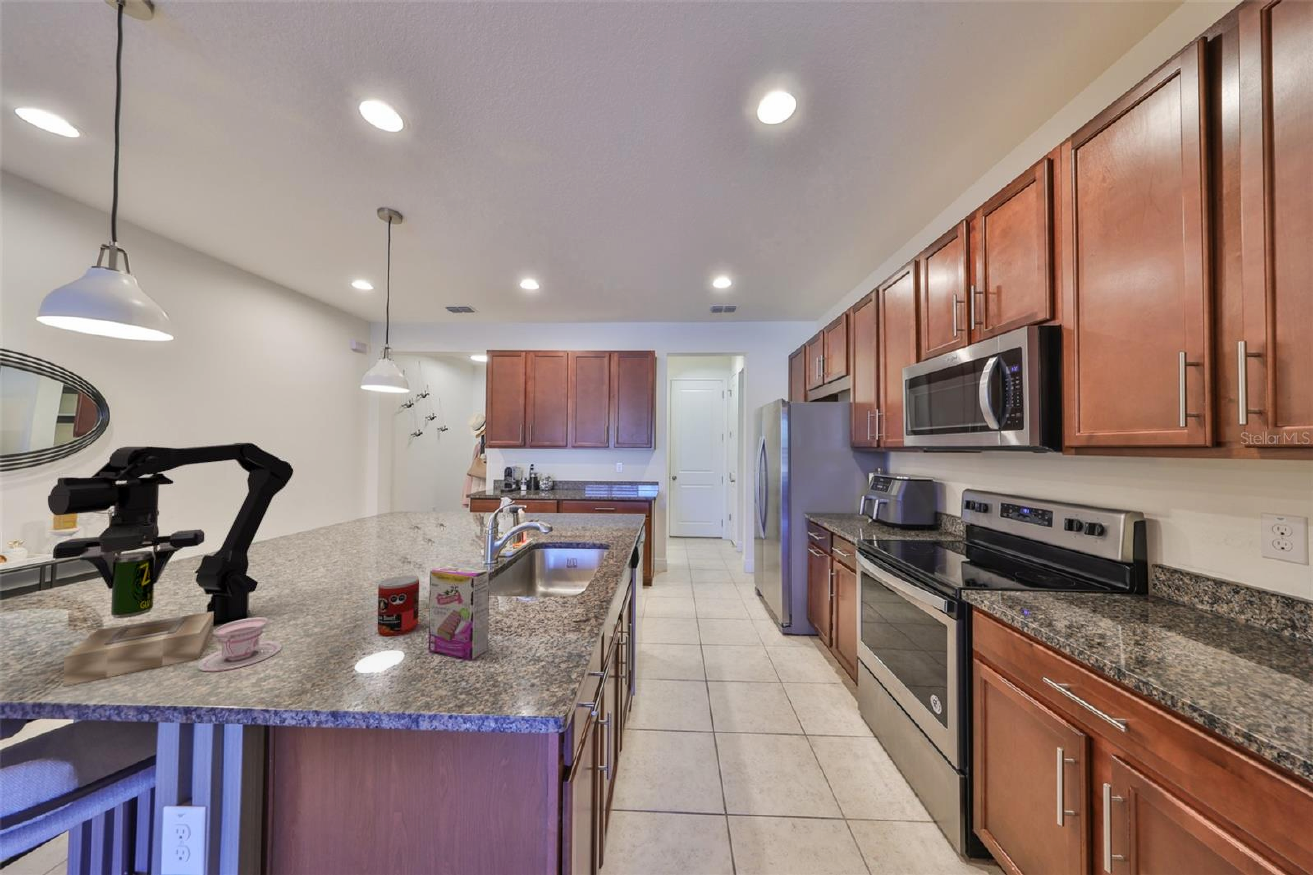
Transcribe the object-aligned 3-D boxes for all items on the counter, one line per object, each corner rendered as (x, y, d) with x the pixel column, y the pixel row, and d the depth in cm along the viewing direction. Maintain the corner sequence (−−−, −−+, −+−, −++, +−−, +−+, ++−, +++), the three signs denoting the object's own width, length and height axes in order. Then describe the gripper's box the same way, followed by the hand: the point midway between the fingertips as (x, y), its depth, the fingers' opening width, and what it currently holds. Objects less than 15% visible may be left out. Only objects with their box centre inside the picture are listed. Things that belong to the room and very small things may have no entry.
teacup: (218, 649, 87) (219, 618, 88) (292, 639, 92) (292, 610, 92) (180, 678, 76) (181, 643, 77) (266, 665, 81) (267, 632, 81)
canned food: (369, 633, 95) (370, 583, 95) (402, 620, 102) (403, 573, 103) (393, 639, 92) (394, 587, 92) (425, 625, 99) (426, 577, 100)
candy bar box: (426, 653, 86) (428, 570, 86) (446, 642, 90) (447, 564, 91) (471, 662, 82) (472, 575, 83) (489, 651, 87) (490, 569, 87)
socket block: (213, 634, 94) (213, 609, 94) (198, 658, 83) (199, 631, 83) (97, 655, 84) (98, 628, 84) (63, 686, 73) (64, 655, 73)
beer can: (104, 621, 83) (106, 558, 83) (119, 611, 87) (122, 552, 88) (145, 615, 86) (147, 554, 86) (158, 607, 90) (160, 549, 91)
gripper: (37, 517, 75) (32, 607, 75) (190, 509, 86) (188, 587, 85) (71, 510, 84) (67, 590, 84) (206, 503, 95) (203, 574, 95)
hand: (133, 585), depth 87 cm, fingers closed on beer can, 5 cm apart
